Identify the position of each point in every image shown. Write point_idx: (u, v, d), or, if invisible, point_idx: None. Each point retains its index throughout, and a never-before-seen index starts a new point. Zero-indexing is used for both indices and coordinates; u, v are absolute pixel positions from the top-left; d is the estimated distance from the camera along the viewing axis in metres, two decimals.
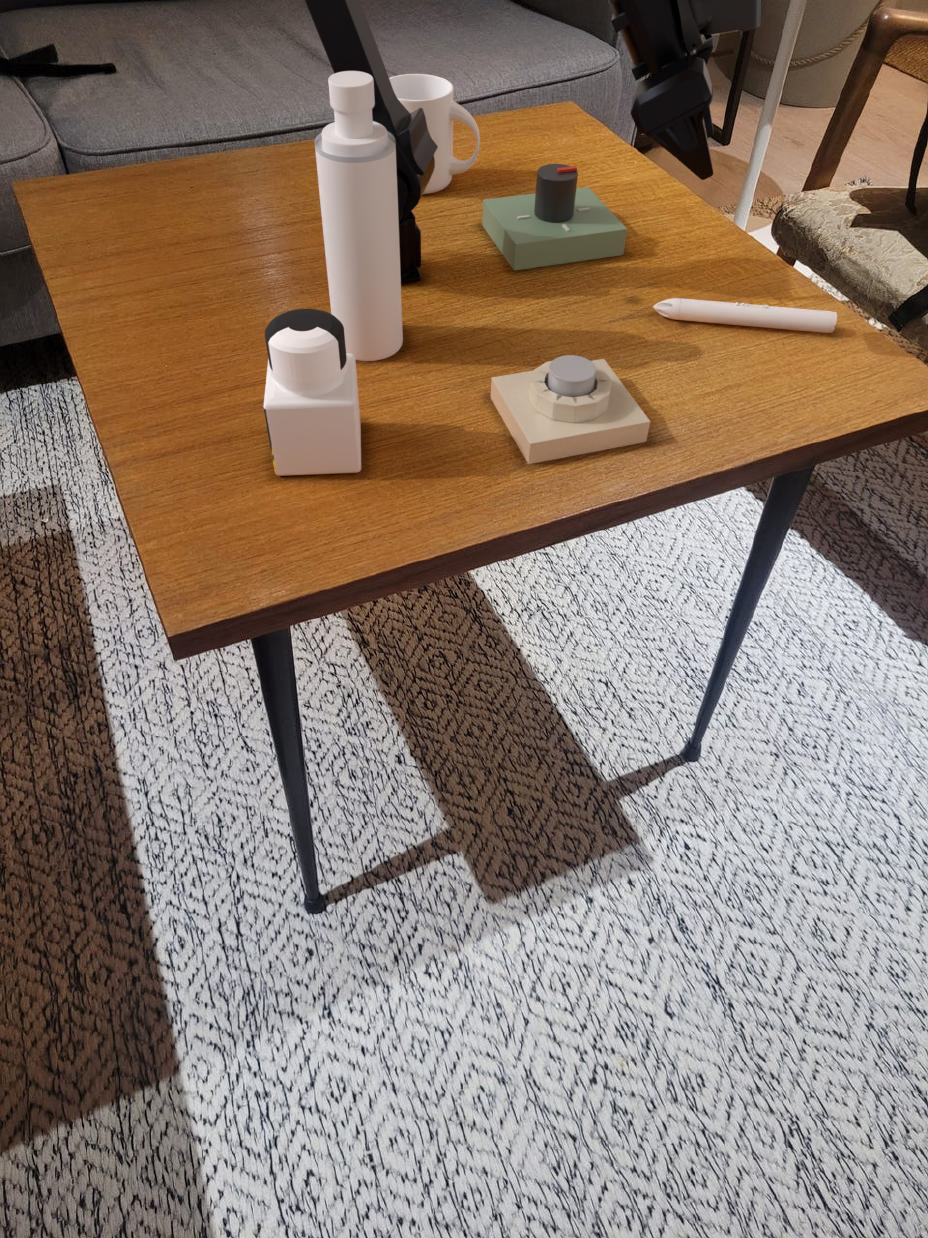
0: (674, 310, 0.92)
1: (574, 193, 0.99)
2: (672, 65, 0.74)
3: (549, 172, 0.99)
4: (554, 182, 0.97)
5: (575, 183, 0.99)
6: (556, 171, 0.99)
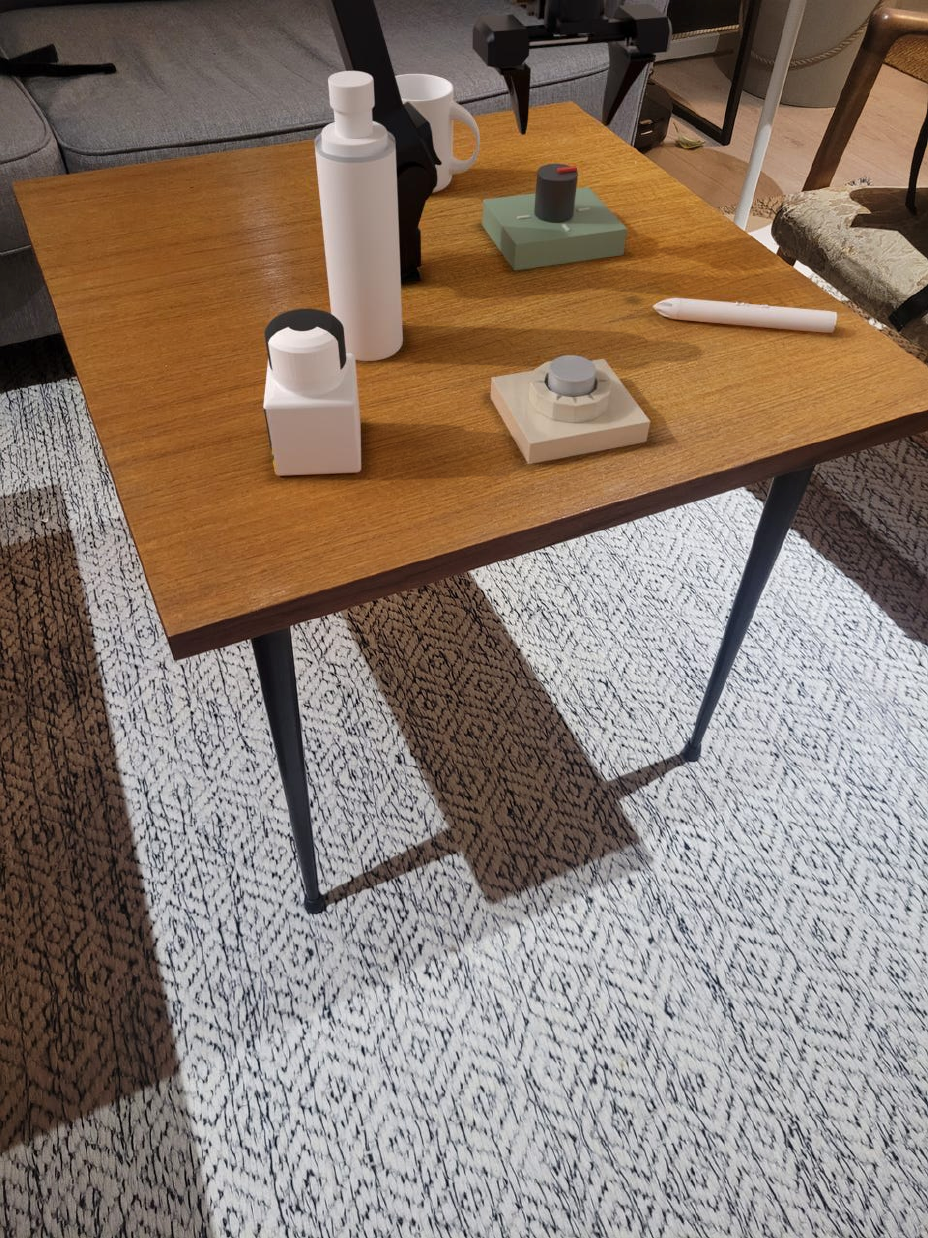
0: (674, 310, 0.92)
1: (574, 193, 0.99)
2: (628, 9, 0.89)
3: (549, 172, 0.99)
4: (554, 182, 0.97)
5: (575, 183, 0.99)
6: (556, 171, 0.99)
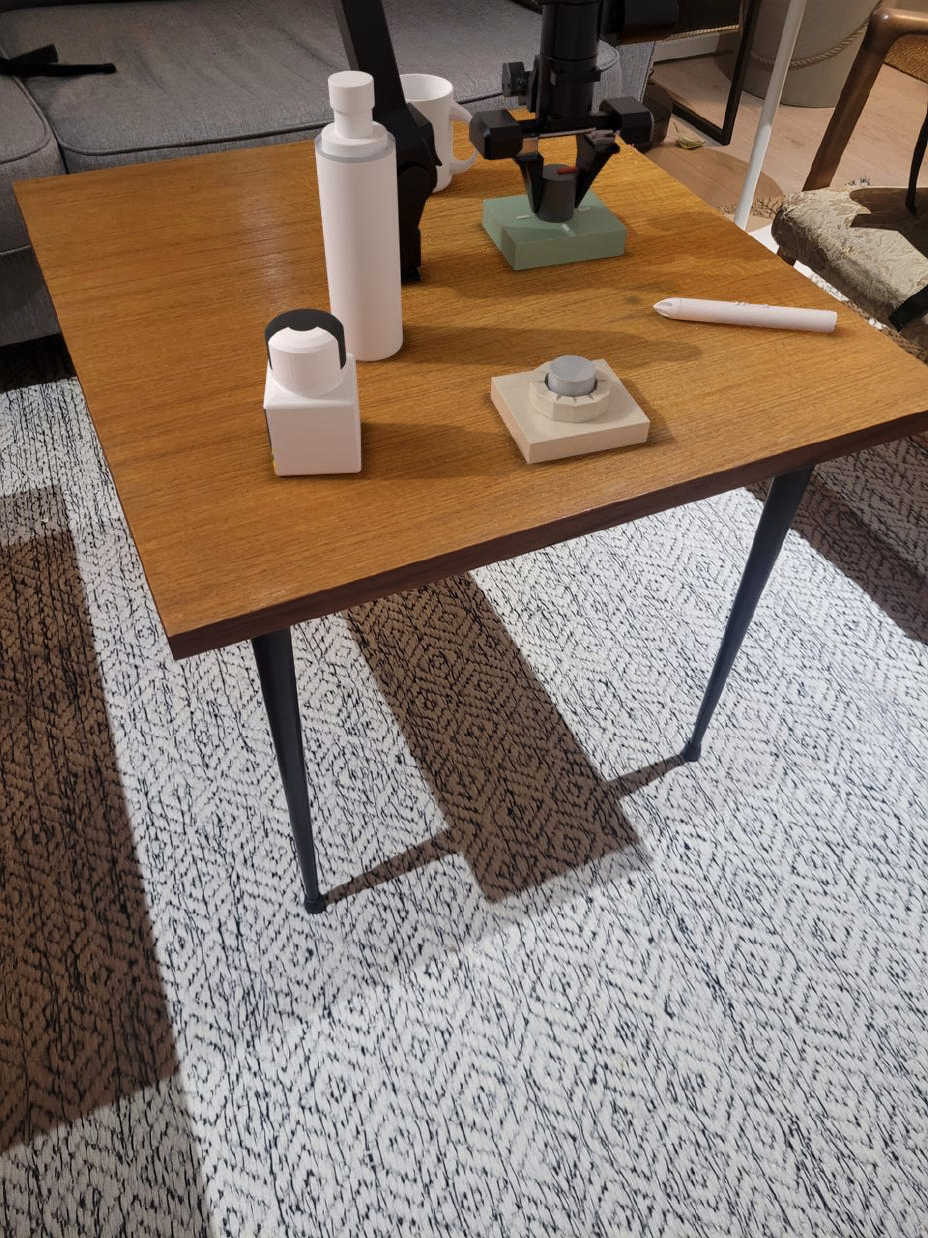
0: (674, 309, 0.92)
1: (574, 193, 0.99)
2: (613, 103, 0.96)
3: (549, 172, 0.99)
4: (554, 182, 0.97)
5: (575, 183, 0.99)
6: (556, 171, 0.99)
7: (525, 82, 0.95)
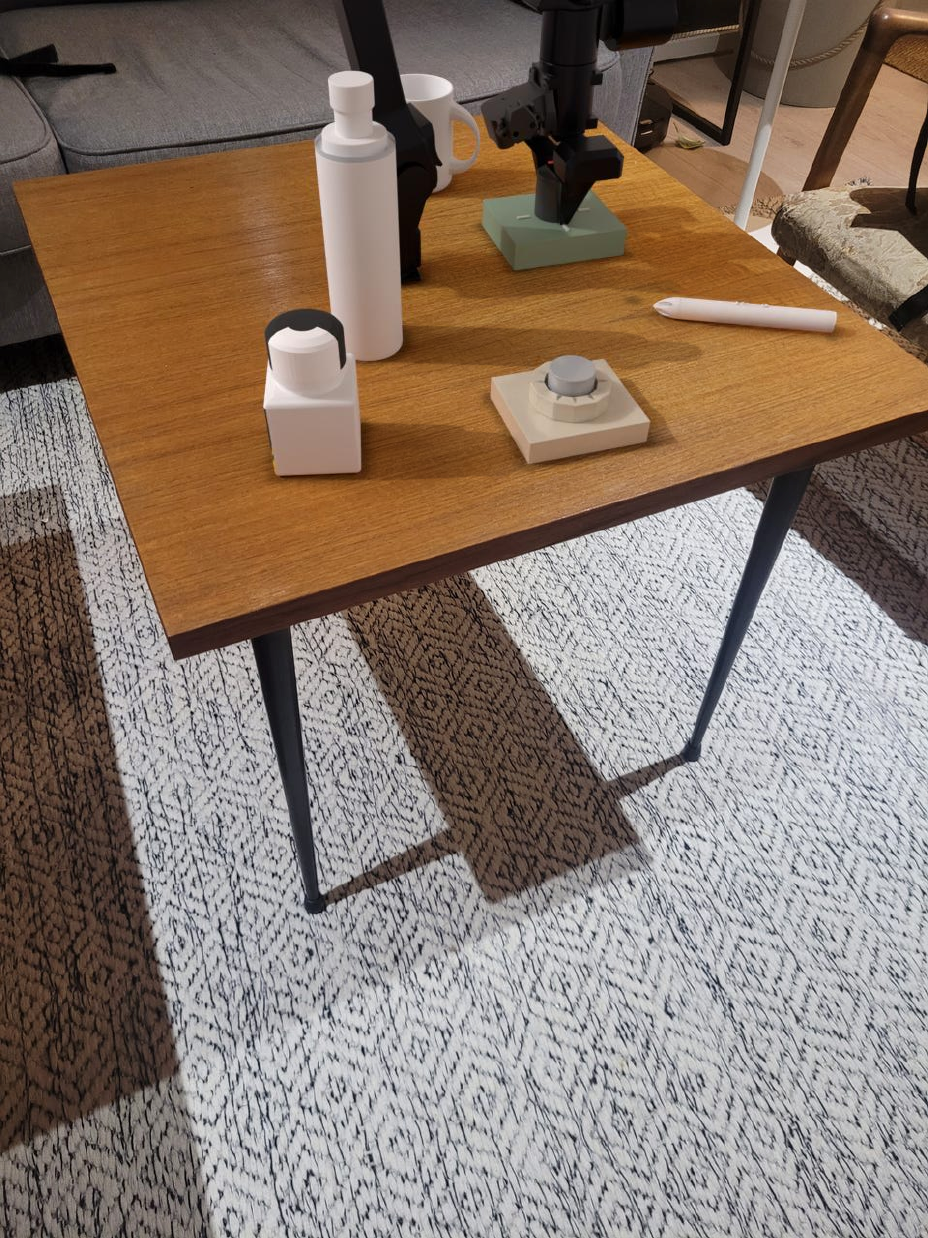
0: (674, 309, 0.92)
1: None
2: None
3: None
4: None
5: None
6: None
7: (539, 112, 0.91)
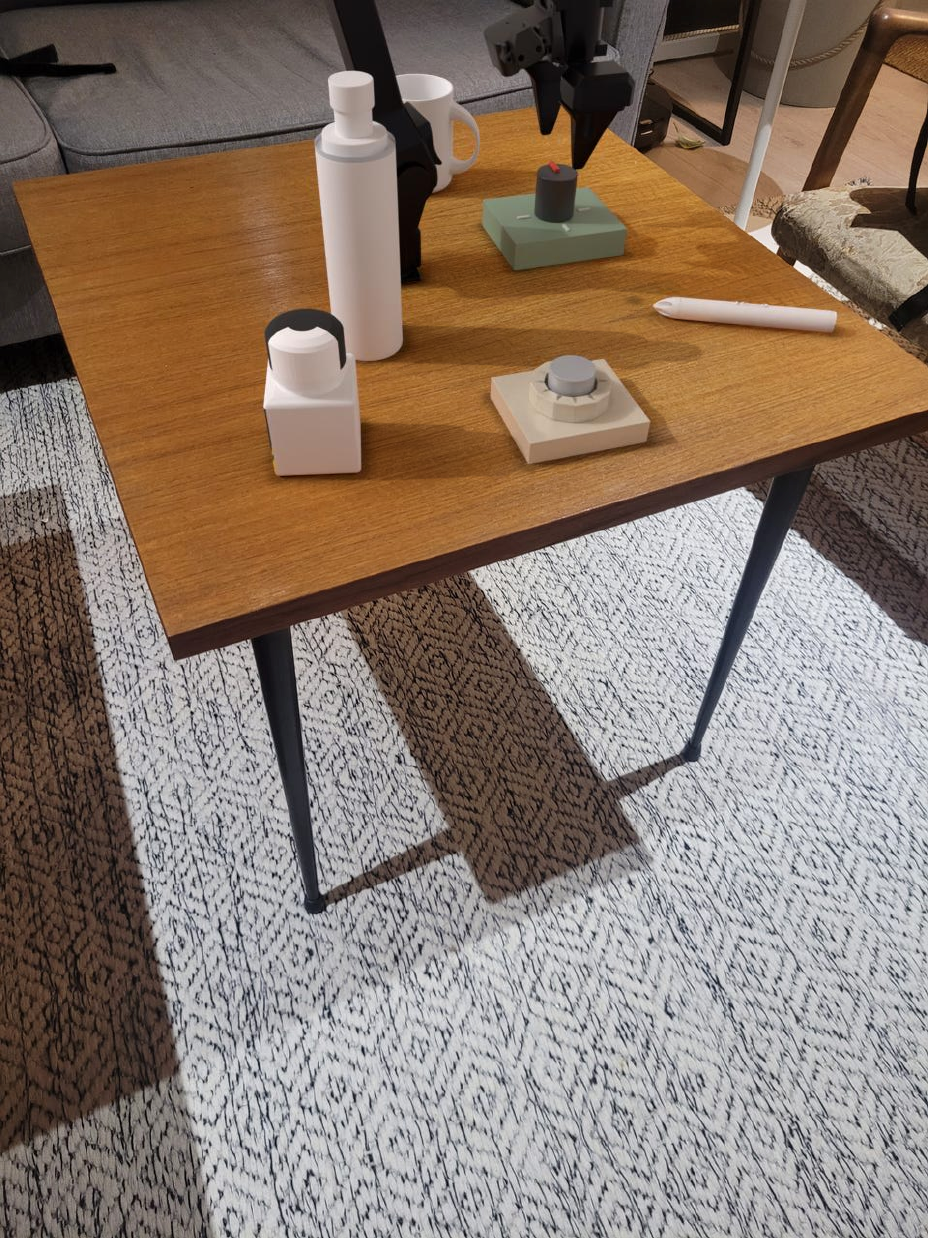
0: (674, 309, 0.92)
1: None
2: None
3: (560, 175, 0.98)
4: (577, 176, 0.99)
5: None
6: (556, 172, 0.99)
7: (546, 35, 0.86)
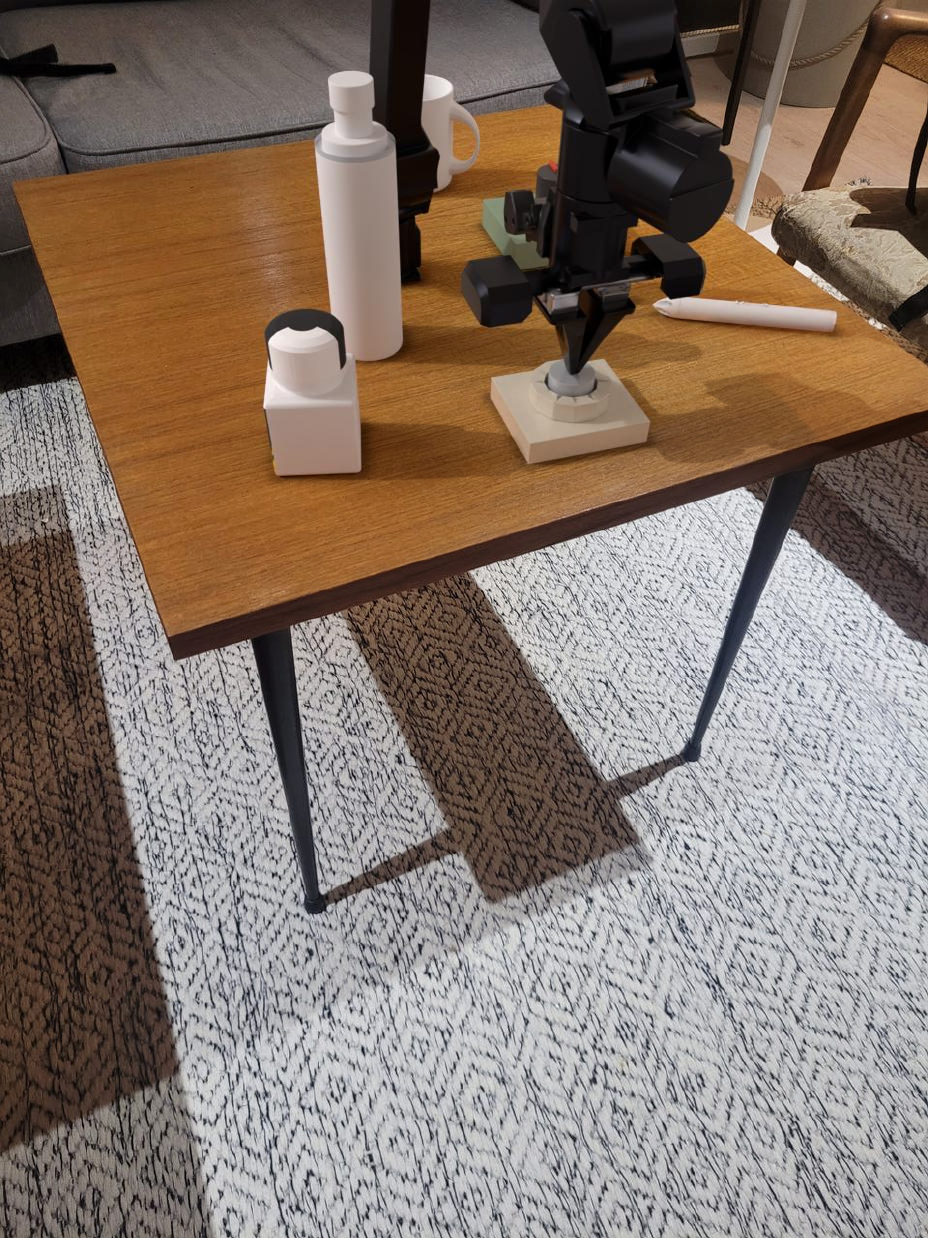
0: (674, 308, 0.92)
1: None
2: (651, 244, 0.73)
3: None
4: None
5: None
6: (556, 172, 0.99)
7: (535, 219, 0.71)
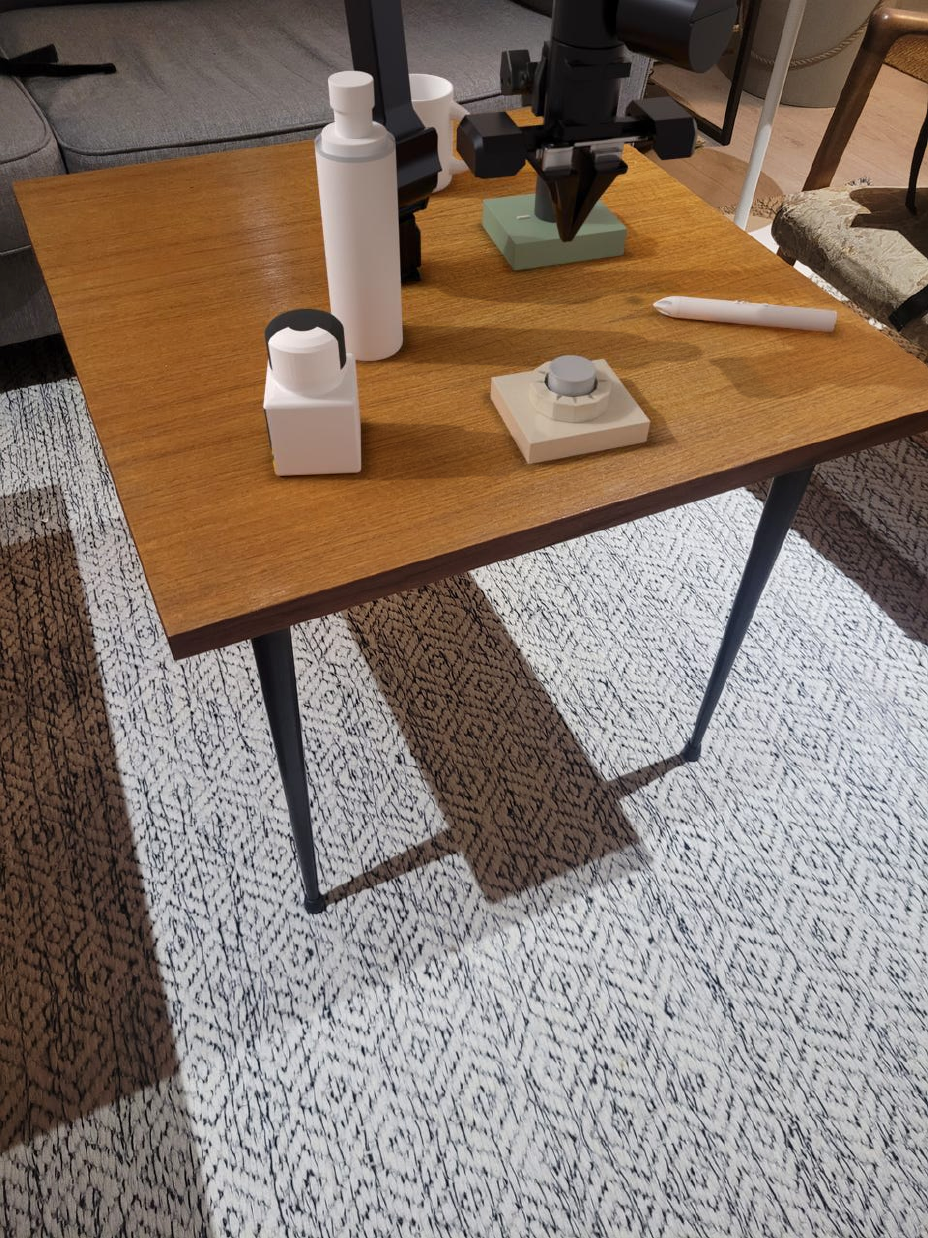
0: (674, 308, 0.92)
1: None
2: (644, 105, 0.74)
3: None
4: None
5: None
6: None
7: (530, 77, 0.73)
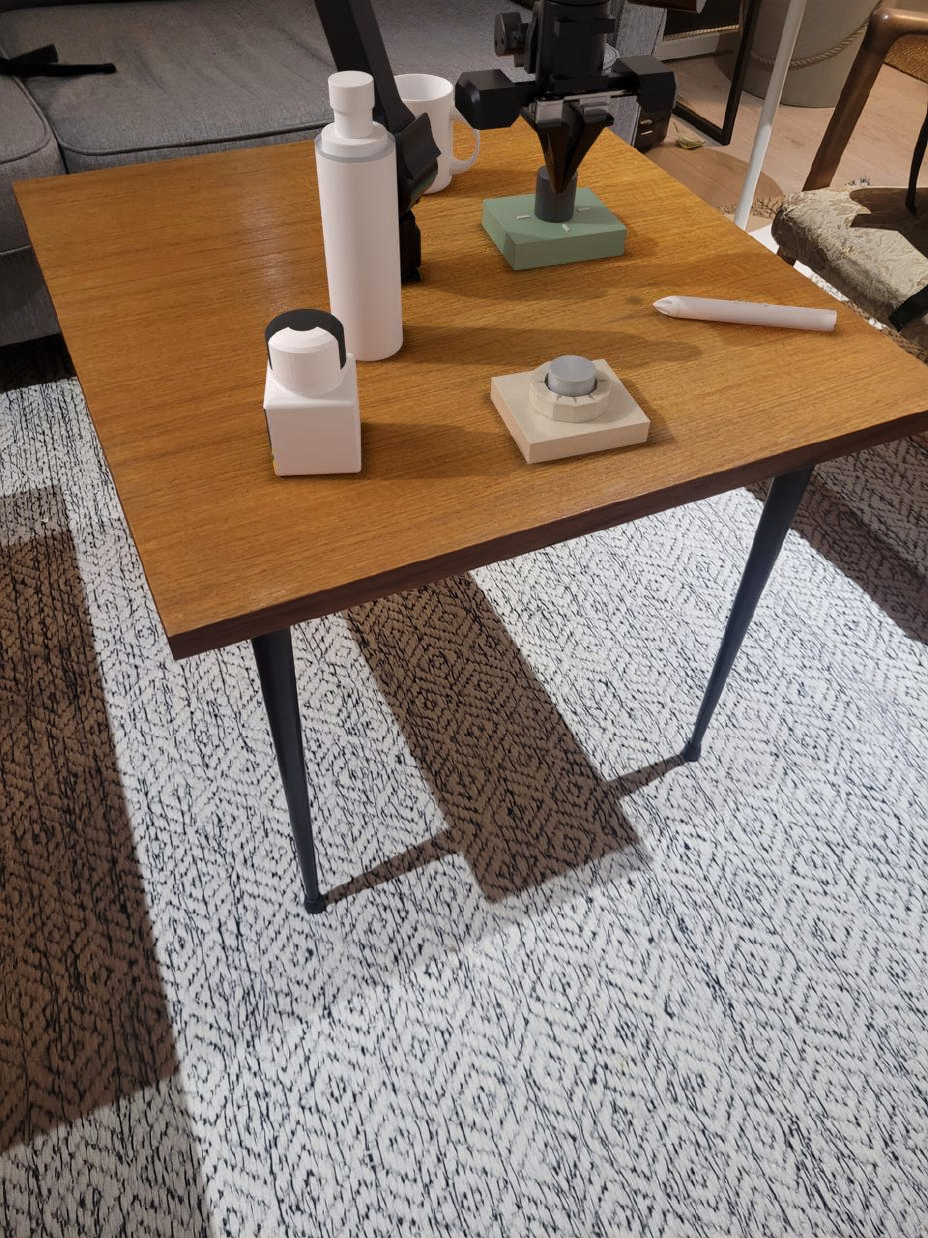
0: (674, 307, 0.92)
1: None
2: (629, 62, 0.80)
3: None
4: (577, 176, 0.99)
5: None
6: None
7: (522, 36, 0.78)
